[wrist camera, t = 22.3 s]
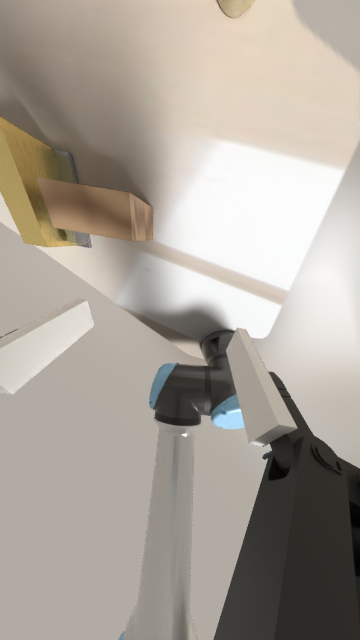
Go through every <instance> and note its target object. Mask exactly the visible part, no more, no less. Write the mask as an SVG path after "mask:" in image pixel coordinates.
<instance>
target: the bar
mask: <svg viewBox="0 0 360 640" xmlns="http://www.w3.org/2000/svg"><path fill="white" fill-rule="evenodd" d="M36 177H37V178H43V179H50V180H56V181H61V180H60V176H59V172H58V168H57V165H56V161H55V157H54V154H53V150H52V148H50V147H49V146H47V145H46V144H44V143H42V142H41V141H39V140H37V139H36V138H34V137H32V136H31V135H29V134H28V133H26V132H24V131H23V130H21V129H19V128H18V127H16V126H14V125H13V124H11V123H10V122H8V121H6V120H5V119H3V118H1V117H0V192H1V194H2V196H3V198H4V200H5V203H6V205H7V207H8V209H9V211H10V213H11V215H12V218H13V220H14V222H15V224H16V226H17V228H18V230H19V232H20V235H21V237H22V239H23V241H24V243H27V244H32V245H38V246H43V247H59V246H75V245H78V244H76V243H70V242H69V241H68V238H67V234H66V231H65V230H64V229H59V228H53V225H52V222H51V219H50V216H49V213H48V210H47V207H46V204H45V201H44V199H43V196H42V193H41V190H40V187H39V184H38V181H37V178H36Z"/></svg>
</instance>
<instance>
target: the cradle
mask: <svg viewBox="0 0 360 640" xmlns="http://www.w3.org/2000/svg"><path fill="white" fill-rule="evenodd" d="M52 150H53V154H54V157H55V161H56V165H57V168H58V172H59V176H60V180H61V181H62V182H68V183H74V184H78V182H77V177H76V172H75V168H74V163H73V159H72V154H70V153H69V152H66V151H60V150H54V149H52ZM65 231H66V234H67V238H68V241H69V242H70V243H76V244H78V245H77V246H83V247H88V248H91V247H92V246H91V241H90V237H89V234H88V233H82V232H76V231H70V230H65Z"/></svg>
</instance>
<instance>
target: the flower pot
mask: <svg viewBox="0 0 360 640" xmlns="http://www.w3.org/2000/svg"><path fill="white" fill-rule="evenodd" d="M254 1H255V0H218V2H219V5H220V7H221V8H222V10H223V12H224V13H225V14H226V15H227V16H229V17H232V18H237V17H239V16H240V15H241V14H242V13H243V12H244V11H245V10H247V9H248V8H249V7H250V6H251V5H252V4H253V3H254Z"/></svg>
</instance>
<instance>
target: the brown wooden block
mask: <svg viewBox="0 0 360 640" xmlns="http://www.w3.org/2000/svg"><path fill="white" fill-rule="evenodd" d="M36 178H37V177H36ZM37 181H38V184H39V187H40V190H41V193H42V196H43V199H44V201H45V204H46V207H47V210H48V213H49V216H50V219H51V222H52V225H53V228H59V229H64V230H70V231H76V232H82V233H88V234H94V235H99V236H105V237H111V238H117V239H123V240H129V241H145V240H153V208H152V207H151V206H149V205H148V204H146V203H145V202H143V201H142V200H140V199H139V198H137V197H136V196H134V195H133V194H131V193H130V192H124V191H118V190H111V189H105V188H99V187H93V186H87V185H81V184H74V183H68V182H62V181H56V180H50V179H43V178H37Z"/></svg>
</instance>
